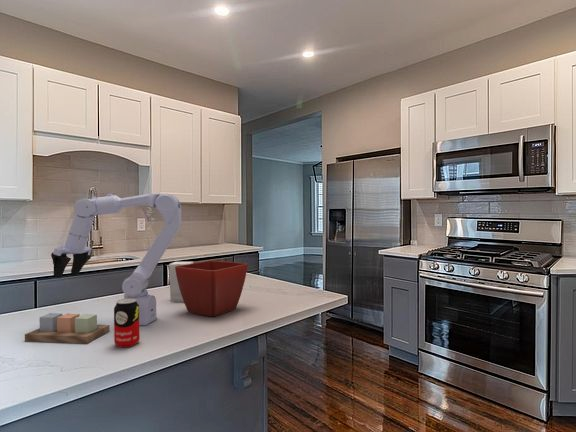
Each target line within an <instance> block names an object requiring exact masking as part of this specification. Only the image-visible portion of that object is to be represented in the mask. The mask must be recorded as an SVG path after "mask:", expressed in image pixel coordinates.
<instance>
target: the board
mask: <svg viewBox="0 0 576 432" xmlns="http://www.w3.org/2000/svg"><path fill="white" fill-rule="evenodd" d="M110 328H111V327H110V324H97V329H96V330H94V331H92V332H90V333H75V331H73V332H71V333H69V332H57V330H56V331H54V332H41V331H40V327H38V328H37V329H35V330H32V331H29V332H27V333H24V342H30V343H31V342H32V343H36V342H37V343H54V344H55V343H56V344H58V343H59V344H60V343H61V344H79V345H80V344H81V345H82V344H83V345H85V344H86V345H88V344H91V342H93V341H95V340H97V339H99V338H100V337H103V336H104V335H106V334H109V333H110V330H111V329H110Z"/></svg>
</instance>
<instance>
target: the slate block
mask: <svg viewBox="0 0 576 432" xmlns="http://www.w3.org/2000/svg"><path fill="white" fill-rule="evenodd" d="M63 315H64V314H63V313H56V312H55V313H53V312H50V313H47V314H44V315H41V316H39V328H40V331H41V332H54V331H56V330H57V318H58V317H60V316H63Z"/></svg>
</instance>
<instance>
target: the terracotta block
mask: <svg viewBox="0 0 576 432" xmlns="http://www.w3.org/2000/svg"><path fill="white" fill-rule="evenodd" d="M79 316H81V314H80V313H64V314H63V316H60V317H58V318H57V332H69V333H71V332H73V331H75V318H77V317H79Z"/></svg>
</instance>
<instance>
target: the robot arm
mask: <svg viewBox="0 0 576 432" xmlns="http://www.w3.org/2000/svg"><path fill="white" fill-rule="evenodd" d="M144 206H148V207H151V208H156V209H157V211H158V212H159V214H160V215H161V217H162V220H163V223H164V226H163V227H162V228H161V230H160V232H159V234H157V237H156V238H155V240H154V241H153V243H151V246H150V248H149V249H148V251H147V252H146V253H145V255H144V257H143V258H142V259H141V262H139V264H138V266H137V267H136V268H135V269H134V271H133V272H132V273H131V275H130V276H129V277H127V278H125V279H124V280H123V281H122V285H121V290H122V292H123V293H124V295H123V297H124V298H123V299H128V298H133V299H137V303H138V305H139V326H147V325H149V324H150V323H152V322H153V321H155V320H157V319H158V316H157V298H156V296H155V295H154V294H149V291H148V289H147V287H148V286H149V283H150V278H151V276H152V274H153V272H154V269H155V268H156V266H158V263H159V262H160V260H161V259H162V257H163V256H164V254H165V252H166V251H167V249H168V247H169V246H170V244H171V243H172V241H173V240H174V238H175V236H176V235H177V233H178V232H179V230H180V229H181V226H182V205H181V202H180V200H179V198H178V197H177V196H176V195H174V194H170V193H145V194H140V195H133V196H127V197H122V198H121V197H119V196H118V195H116V194H115V195H114V194H112V193H108V194H106V196H99V197H97V196H91V198H85V197H82V198H81V199H78V200H76V202H75V203H74V205H73V211H74V215H73V219H72V220H71V224H70V227H69V230H68V234H67V236H66V240H65V243H64V244H61V246H59V247H55V248H54V250H53V251H52V252H51V254H50V256H51V259H52V263H53V277H56V278H58V279H61V278H62V277H63V275H64V272H65V269H66V267H67V266H68V265H69V263H70V261H71V260H72V265H71V270H70V274H71V275H74V276H78V275H79V274H80V272H81V271H82V269H83V267H84V266H85V265H86V263H87V262H88V261H89V260H90V259H91V258H92V255H91V252H92V249H93V248H92V247H89V246H87V243H88V239H89V236H90V234H91V233H90V232H91V230H92V227H93V224H94V220H95V217H96V216H103V215H110V214H117V213H120V212H121V210H122V209H123V208H132V207H144ZM68 255H72V257H69V256H68Z"/></svg>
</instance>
